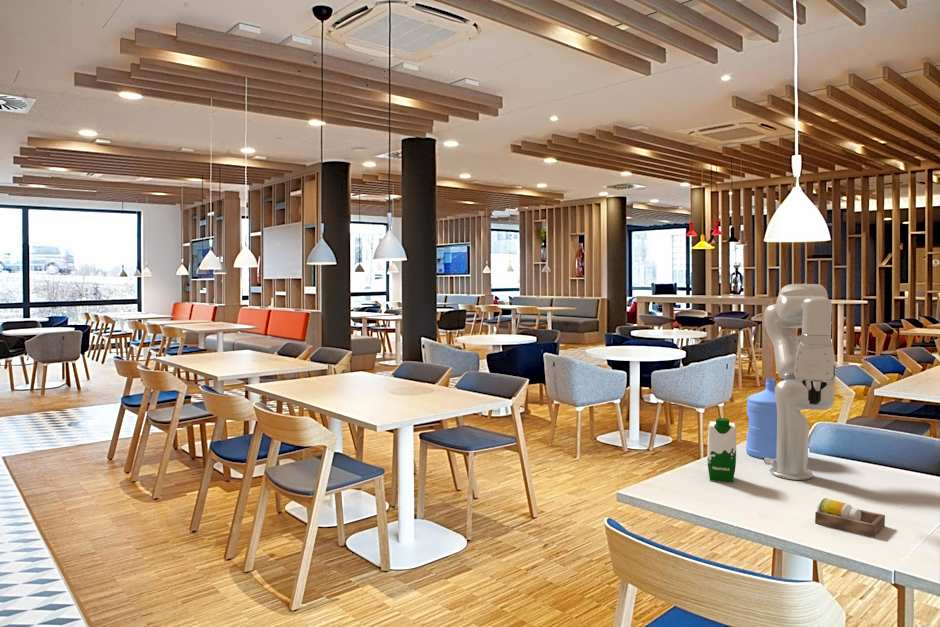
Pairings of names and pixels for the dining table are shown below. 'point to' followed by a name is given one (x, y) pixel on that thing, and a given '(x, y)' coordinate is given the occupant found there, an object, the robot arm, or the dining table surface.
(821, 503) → the supplement bottle
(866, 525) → the u rest
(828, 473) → the dining table surface
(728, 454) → the milk carton
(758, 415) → the water jug
